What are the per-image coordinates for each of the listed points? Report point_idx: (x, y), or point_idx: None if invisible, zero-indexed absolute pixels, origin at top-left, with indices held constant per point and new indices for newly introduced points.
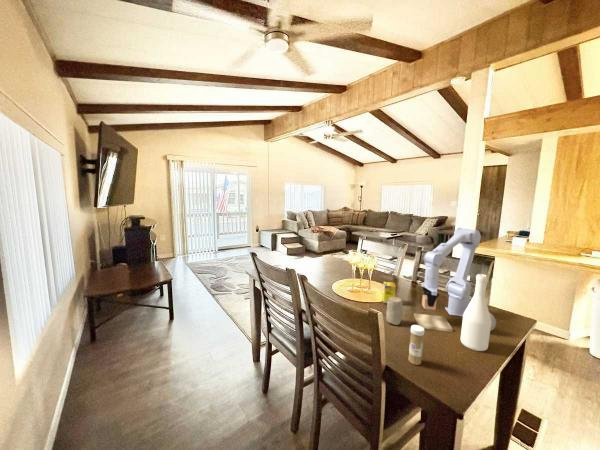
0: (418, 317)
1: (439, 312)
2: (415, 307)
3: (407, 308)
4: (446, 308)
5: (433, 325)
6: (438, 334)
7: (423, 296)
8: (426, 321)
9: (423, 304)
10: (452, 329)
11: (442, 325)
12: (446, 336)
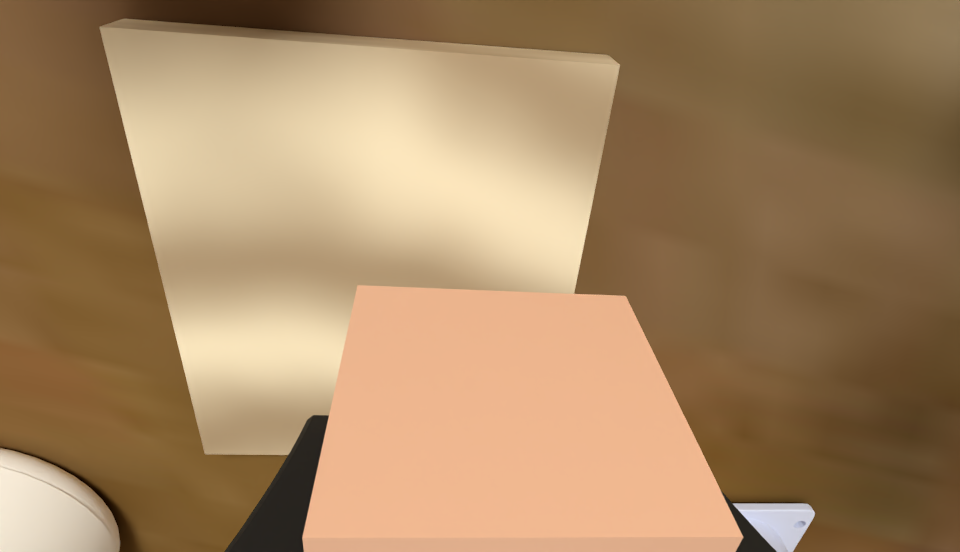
0: (447, 103)
1: (711, 430)
2: (914, 173)
3: (912, 5)
4: (785, 516)
5: (212, 269)
6: (46, 263)
7: (596, 519)
8: (323, 202)
9: (474, 329)
10: (204, 448)
11: (268, 379)
12: (47, 340)
